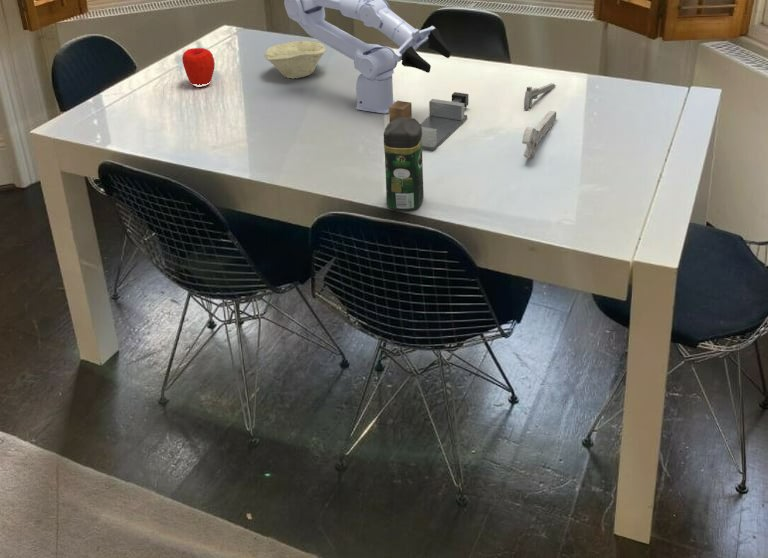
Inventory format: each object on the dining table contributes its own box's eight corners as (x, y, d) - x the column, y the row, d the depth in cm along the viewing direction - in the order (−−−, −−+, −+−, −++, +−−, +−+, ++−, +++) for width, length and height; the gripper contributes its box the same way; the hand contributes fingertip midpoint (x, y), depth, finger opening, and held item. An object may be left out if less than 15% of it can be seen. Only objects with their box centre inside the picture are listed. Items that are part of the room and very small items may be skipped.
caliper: (527, 112, 246) (528, 89, 242) (523, 111, 246) (524, 88, 243) (556, 87, 260) (557, 65, 257) (552, 86, 261) (553, 64, 258)
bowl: (290, 98, 272) (251, 65, 270) (315, 73, 285) (279, 41, 284) (313, 66, 263) (273, 32, 261) (338, 42, 276) (300, 9, 274)
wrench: (555, 131, 241) (527, 165, 216) (548, 130, 242) (520, 164, 216) (557, 100, 238) (530, 132, 212) (550, 100, 238) (522, 131, 213)
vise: (400, 145, 229) (399, 126, 227) (435, 114, 246) (435, 96, 243) (433, 151, 226) (433, 132, 223) (467, 118, 242) (467, 100, 240)
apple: (221, 80, 274) (216, 44, 269) (210, 91, 267) (205, 54, 261) (193, 79, 276) (188, 43, 270) (181, 89, 269) (175, 53, 263)
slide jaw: (429, 116, 242) (429, 101, 240) (445, 101, 251) (445, 87, 249) (461, 120, 239) (461, 106, 237) (477, 105, 247) (477, 91, 245)
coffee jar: (391, 191, 208) (388, 113, 199) (426, 193, 207) (425, 114, 197) (382, 211, 200) (379, 131, 191) (418, 213, 199) (417, 132, 189)
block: (389, 129, 239) (388, 107, 235) (398, 122, 242) (397, 100, 239) (403, 131, 237) (403, 109, 234) (412, 124, 241) (411, 102, 238)
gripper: (382, 33, 229) (422, 64, 225) (421, 7, 235) (461, 36, 231) (379, 54, 235) (418, 84, 231) (417, 27, 241) (456, 57, 237)
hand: (439, 62), depth 232 cm, fingers open, 7 cm apart
